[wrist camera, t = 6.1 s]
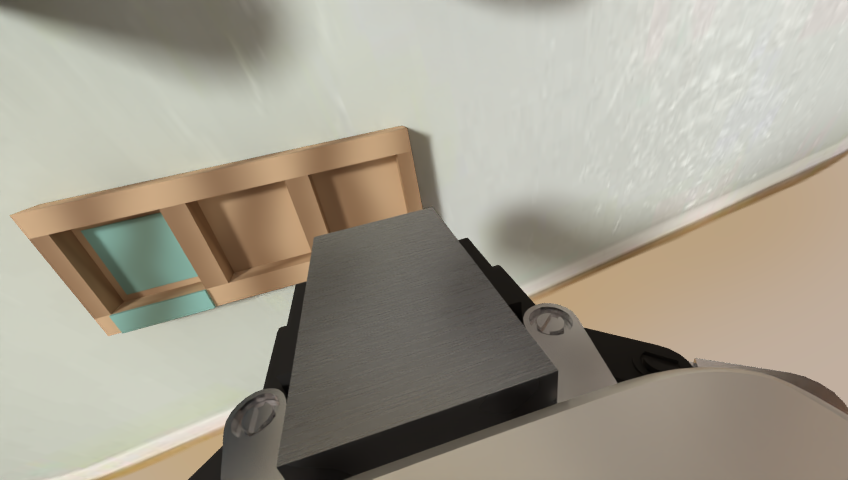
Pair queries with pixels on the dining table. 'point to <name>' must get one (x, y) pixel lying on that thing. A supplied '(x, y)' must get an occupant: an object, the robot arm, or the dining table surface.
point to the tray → (218, 227)
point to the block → (401, 351)
